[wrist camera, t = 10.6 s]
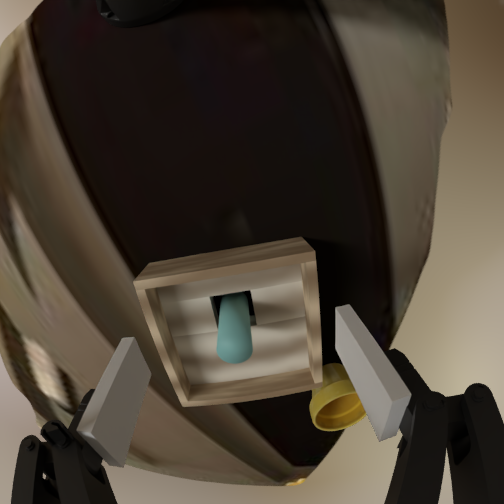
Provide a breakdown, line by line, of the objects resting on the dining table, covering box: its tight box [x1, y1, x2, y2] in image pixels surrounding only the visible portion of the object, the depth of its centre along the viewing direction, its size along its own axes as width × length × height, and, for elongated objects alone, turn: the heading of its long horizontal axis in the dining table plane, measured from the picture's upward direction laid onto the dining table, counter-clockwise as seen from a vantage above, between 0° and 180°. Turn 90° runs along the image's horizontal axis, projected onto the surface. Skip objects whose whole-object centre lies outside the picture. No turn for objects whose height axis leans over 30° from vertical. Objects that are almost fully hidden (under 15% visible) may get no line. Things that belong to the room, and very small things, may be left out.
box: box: [133, 237, 323, 407], centre depth 38 cm, size 22×22×7 cm
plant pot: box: [310, 363, 367, 431], centre depth 42 cm, size 10×10×10 cm
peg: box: [216, 292, 253, 364], centre depth 35 cm, size 4×4×12 cm
